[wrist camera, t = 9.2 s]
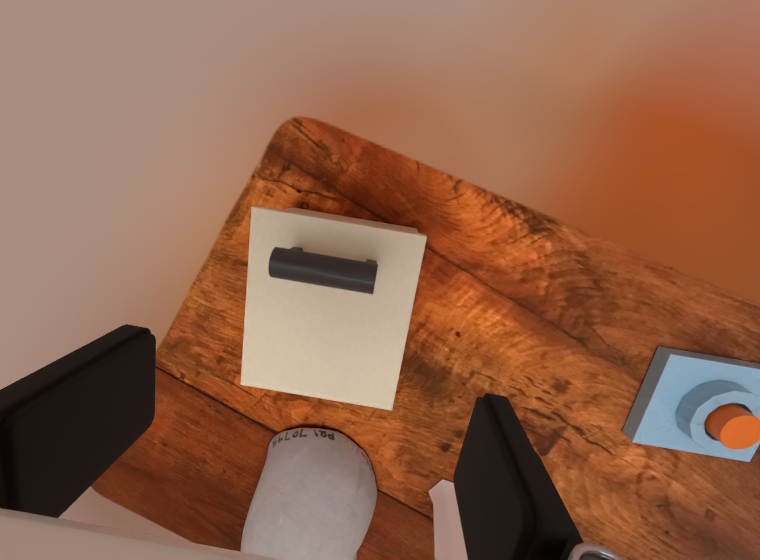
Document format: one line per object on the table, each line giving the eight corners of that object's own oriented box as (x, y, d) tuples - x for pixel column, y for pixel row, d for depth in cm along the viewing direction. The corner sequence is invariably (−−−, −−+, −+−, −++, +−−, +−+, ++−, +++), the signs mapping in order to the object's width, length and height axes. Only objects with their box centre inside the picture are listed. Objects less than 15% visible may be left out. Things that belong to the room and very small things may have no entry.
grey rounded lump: (292, 473, 50) (310, 614, 40) (204, 466, 39) (201, 652, 30) (379, 423, 46) (423, 563, 36) (308, 401, 36) (342, 588, 26)
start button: (713, 400, 32) (731, 412, 31) (752, 406, 32) (772, 419, 31) (697, 432, 34) (713, 446, 32) (735, 439, 34) (752, 452, 32)
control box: (657, 345, 35) (686, 363, 31) (779, 366, 35) (820, 386, 31) (621, 430, 37) (643, 455, 34) (734, 449, 37) (767, 476, 34)
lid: (255, 205, 24) (220, 212, 19) (426, 234, 24) (433, 248, 19) (244, 379, 28) (212, 421, 23) (392, 404, 28) (391, 451, 23)
